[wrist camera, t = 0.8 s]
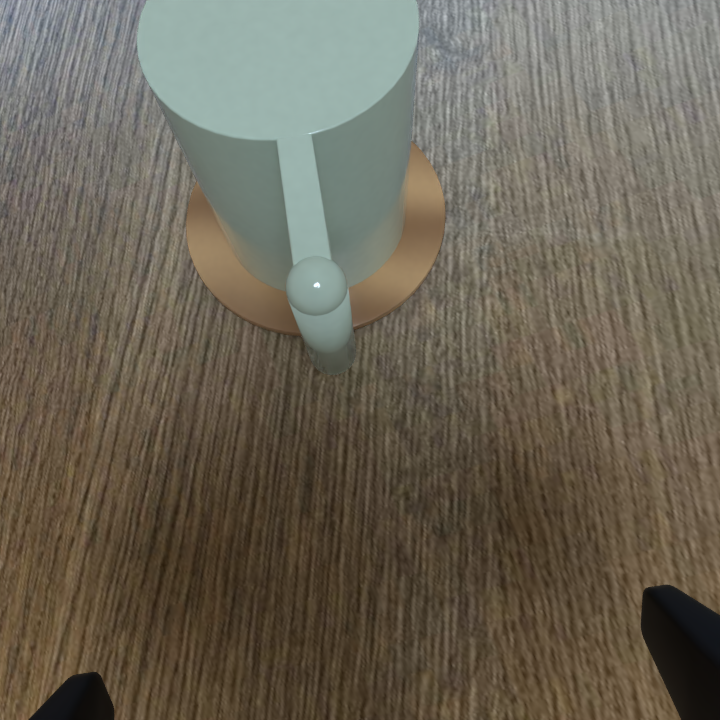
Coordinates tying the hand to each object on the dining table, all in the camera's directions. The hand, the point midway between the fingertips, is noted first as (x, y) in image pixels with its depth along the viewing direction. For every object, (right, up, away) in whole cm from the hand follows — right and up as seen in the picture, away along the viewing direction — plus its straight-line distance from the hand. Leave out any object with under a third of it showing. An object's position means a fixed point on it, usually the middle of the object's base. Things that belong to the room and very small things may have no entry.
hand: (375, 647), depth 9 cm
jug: (-2, +10, +16) cm, 19 cm away
